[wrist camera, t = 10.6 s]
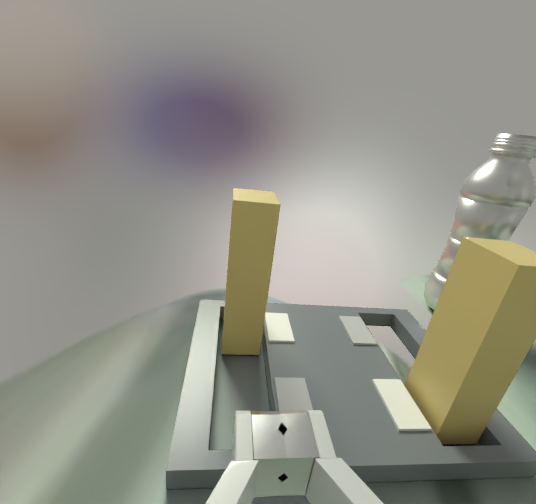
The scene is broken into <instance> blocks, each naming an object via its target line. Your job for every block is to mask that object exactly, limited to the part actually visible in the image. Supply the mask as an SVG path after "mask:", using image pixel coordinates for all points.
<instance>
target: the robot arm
mask: <svg viewBox="0 0 536 504" xmlns="http://www.w3.org/2000/svg"><path fill="white" fill-rule="evenodd" d="M279 495H280V496H287V495H306V498H307V500H308V501H309V503H310V504H384V503H383V502H382V501H381V500H380V499H379V498H378V497H377V496H376V495H375V494H374V493H373V492H372V491H371V489H370V488H369V487H368V486H367V485H366V484H365V483H364V482H363V481H362V480H361V479H360V478H359V477H358V476H357V474H356V473H355V472H354V471H353V470H352V469H351V468H350V467H349V466H348V465H347V464H346V463H345V462H344V460H343V459H342V458H337V457H336V454H335V451H334V447H333V444H332V441H331V437H330V434H329V431H328V427H327V424H326V421H325V417H324V414H323V412H322V411H321V410H307V411H306V410H284V411H235V420H234V431H233V446H232V461H230V463H229V465H228V466H227V468H226V470H225V471H224V473H223V475H222V476H221V478H220V480H219V481H218V483H217V485H216V486H215V488H214V490H213V492H212V493H211V495H210V497H209V498H208V500H207V502H206V503H205V504H252V501H253V498H255V497H267V496H279Z"/></svg>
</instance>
